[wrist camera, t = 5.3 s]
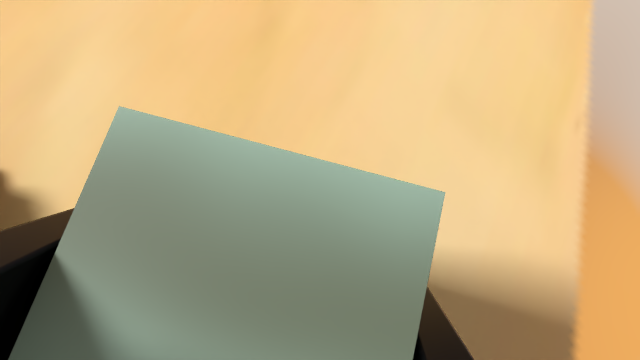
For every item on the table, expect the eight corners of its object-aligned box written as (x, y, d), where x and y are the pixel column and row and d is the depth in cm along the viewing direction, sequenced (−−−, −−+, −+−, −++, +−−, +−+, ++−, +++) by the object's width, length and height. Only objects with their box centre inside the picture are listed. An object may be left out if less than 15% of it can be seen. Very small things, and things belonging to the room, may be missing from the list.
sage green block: (331, 421, 14) (364, 605, 6) (163, 372, 15) (-44, 477, 6) (371, 249, 16) (445, 192, 7) (220, 208, 16) (119, 106, 8)
